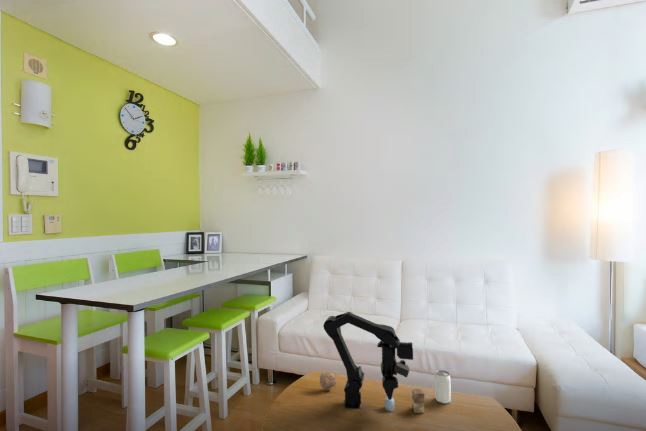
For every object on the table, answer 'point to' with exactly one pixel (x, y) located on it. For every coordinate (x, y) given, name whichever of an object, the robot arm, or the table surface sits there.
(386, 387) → the robot arm
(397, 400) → the table surface
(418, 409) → the tower base
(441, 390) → the can
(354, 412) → the table surface
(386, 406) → the pale blue rounded blob
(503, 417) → the table surface
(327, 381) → the brown wrinkled rounded piece
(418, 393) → the tower top
